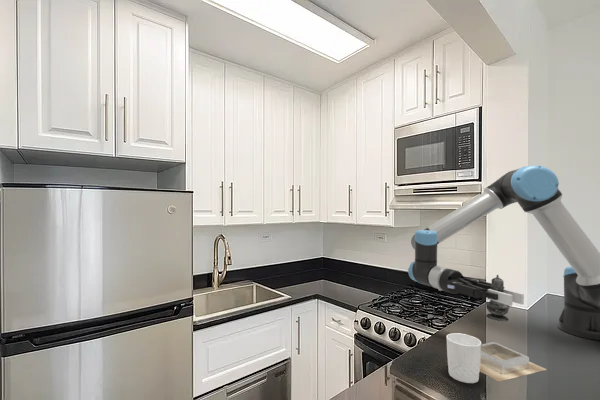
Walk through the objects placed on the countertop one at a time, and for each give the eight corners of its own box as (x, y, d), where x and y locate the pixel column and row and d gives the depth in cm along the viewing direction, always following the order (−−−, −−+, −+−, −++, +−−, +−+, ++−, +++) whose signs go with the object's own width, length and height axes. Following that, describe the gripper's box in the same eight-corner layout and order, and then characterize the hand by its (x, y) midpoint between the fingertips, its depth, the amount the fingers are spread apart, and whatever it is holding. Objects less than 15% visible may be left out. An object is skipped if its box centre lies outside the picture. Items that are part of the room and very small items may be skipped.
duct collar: (494, 352, 93) (494, 341, 94) (528, 368, 84) (528, 357, 84) (469, 357, 90) (469, 346, 90) (502, 374, 81) (502, 362, 81)
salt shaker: (513, 322, 84) (514, 277, 84) (489, 320, 85) (490, 276, 86) (504, 315, 90) (504, 273, 90) (481, 313, 91) (482, 271, 91)
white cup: (450, 367, 85) (450, 330, 86) (483, 378, 80) (484, 338, 81) (442, 379, 79) (442, 339, 80) (477, 391, 74) (477, 349, 75)
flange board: (497, 349, 97) (497, 347, 97) (546, 372, 84) (546, 369, 84) (452, 358, 90) (452, 356, 90) (498, 384, 77) (498, 381, 77)
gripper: (465, 289, 107) (538, 311, 85) (426, 293, 101) (494, 317, 79) (465, 267, 107) (538, 283, 85) (427, 269, 102) (494, 287, 80)
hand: (516, 299), depth 83 cm, fingers closed on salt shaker, 4 cm apart
